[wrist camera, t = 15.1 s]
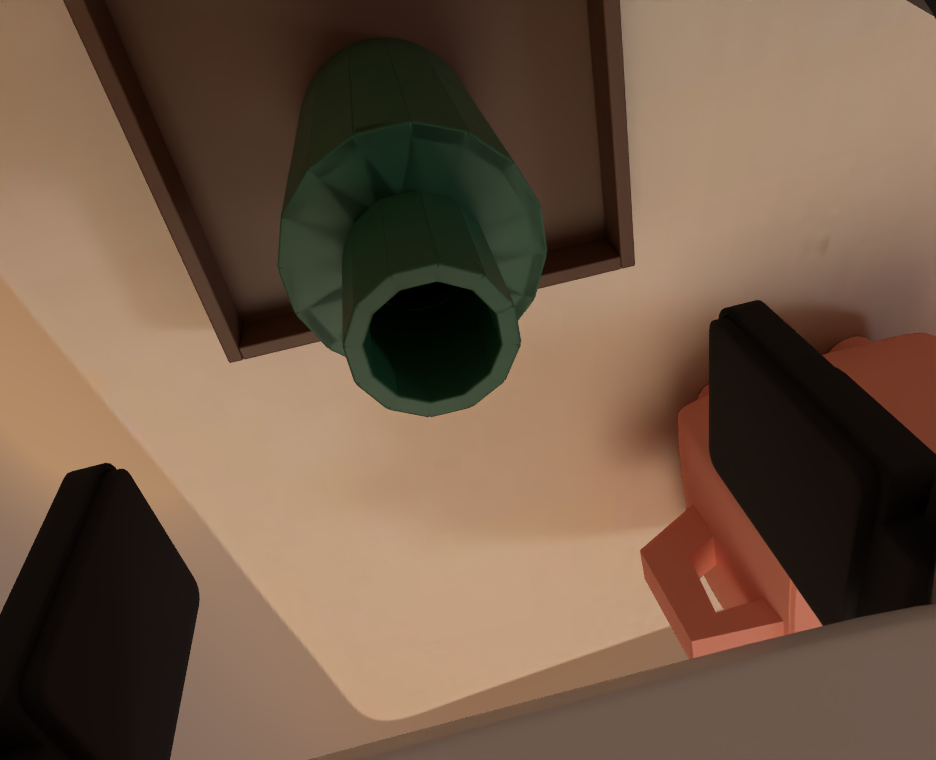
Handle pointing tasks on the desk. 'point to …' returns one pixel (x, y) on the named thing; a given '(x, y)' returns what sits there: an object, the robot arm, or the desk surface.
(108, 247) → the desk surface
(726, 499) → the teapot
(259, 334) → the tray
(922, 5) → the beverage cup
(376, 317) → the bottle
